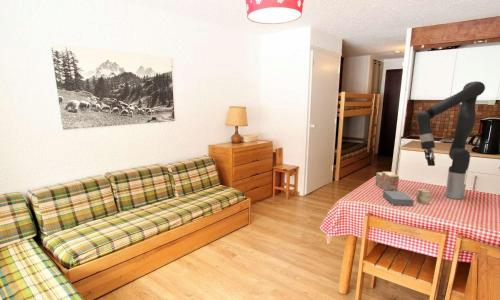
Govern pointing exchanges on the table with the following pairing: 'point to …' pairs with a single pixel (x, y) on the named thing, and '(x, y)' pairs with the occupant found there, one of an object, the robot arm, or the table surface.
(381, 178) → the stack of blocks
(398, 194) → the slate plinth
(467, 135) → the robot arm
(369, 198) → the table surface
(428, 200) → the birch block
